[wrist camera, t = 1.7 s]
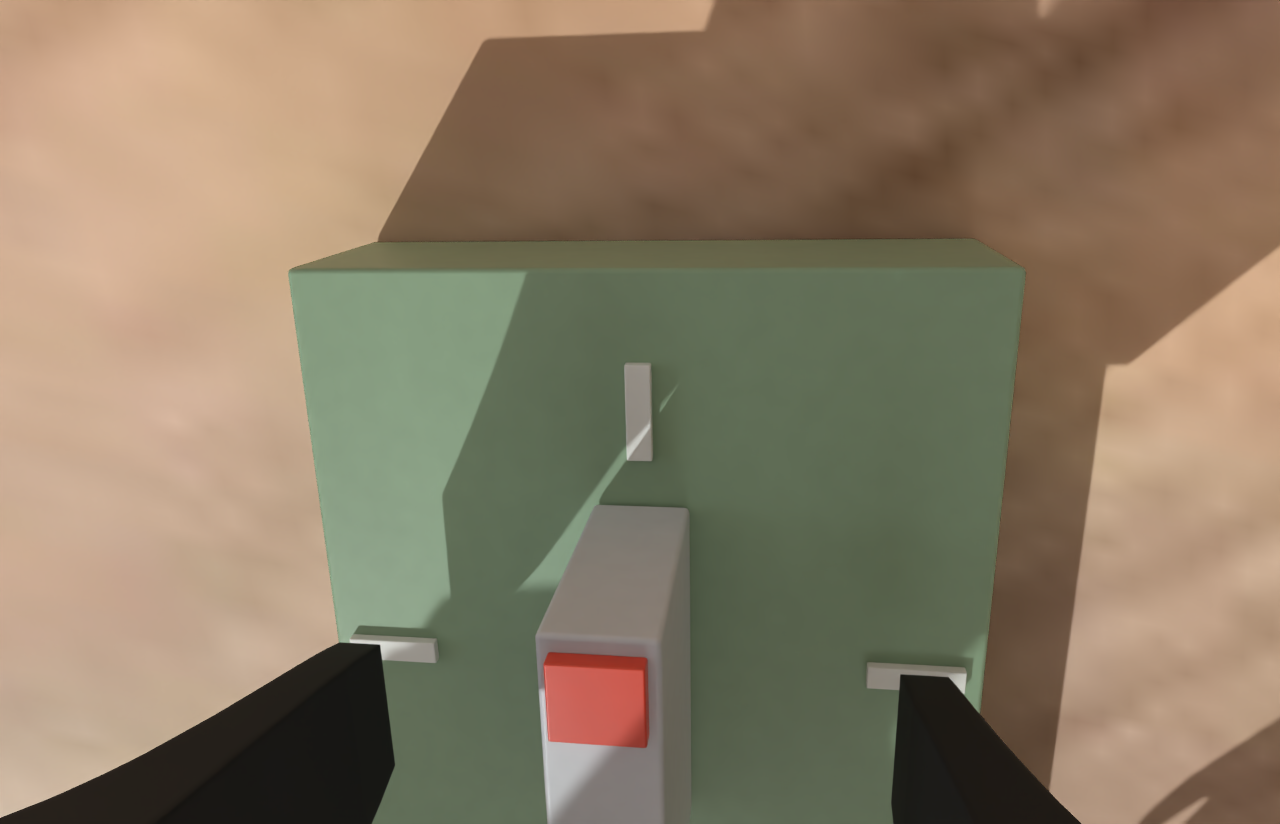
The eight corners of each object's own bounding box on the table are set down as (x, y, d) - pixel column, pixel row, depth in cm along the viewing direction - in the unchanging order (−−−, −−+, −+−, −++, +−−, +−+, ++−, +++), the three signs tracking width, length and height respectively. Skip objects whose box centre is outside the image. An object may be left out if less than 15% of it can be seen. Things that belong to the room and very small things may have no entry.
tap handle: (691, 805, 15) (666, 1029, 11) (606, 799, 15) (552, 1017, 11) (689, 506, 13) (659, 653, 10) (593, 502, 13) (527, 646, 10)
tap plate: (917, 935, 19) (945, 1090, 16) (443, 891, 20) (386, 1026, 17) (978, 238, 14) (1031, 269, 11) (371, 241, 16) (279, 270, 13)
